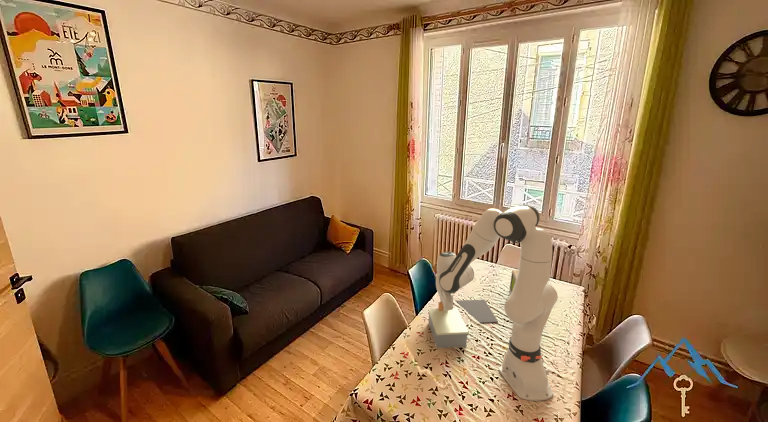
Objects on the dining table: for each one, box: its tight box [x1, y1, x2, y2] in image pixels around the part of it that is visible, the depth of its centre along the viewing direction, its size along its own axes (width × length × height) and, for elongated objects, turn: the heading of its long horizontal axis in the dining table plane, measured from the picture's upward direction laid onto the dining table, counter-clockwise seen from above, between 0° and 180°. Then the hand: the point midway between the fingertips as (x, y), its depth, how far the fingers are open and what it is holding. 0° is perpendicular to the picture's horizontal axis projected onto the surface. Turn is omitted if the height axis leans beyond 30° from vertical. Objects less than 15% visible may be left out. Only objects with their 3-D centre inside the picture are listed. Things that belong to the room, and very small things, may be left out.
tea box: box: [509, 269, 519, 296], centre depth 192 cm, size 15×10×15 cm
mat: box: [456, 299, 499, 324], centre depth 183 cm, size 20×16×1 cm
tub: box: [428, 313, 468, 349], centre depth 163 cm, size 18×14×8 cm
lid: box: [428, 301, 469, 335], centre depth 161 cm, size 19×15×6 cm
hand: (443, 307), depth 169 cm, fingers open, 4 cm apart
